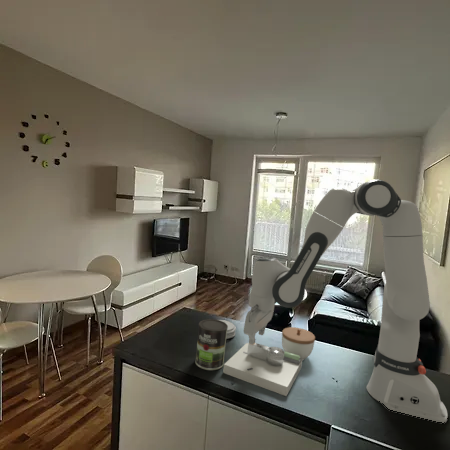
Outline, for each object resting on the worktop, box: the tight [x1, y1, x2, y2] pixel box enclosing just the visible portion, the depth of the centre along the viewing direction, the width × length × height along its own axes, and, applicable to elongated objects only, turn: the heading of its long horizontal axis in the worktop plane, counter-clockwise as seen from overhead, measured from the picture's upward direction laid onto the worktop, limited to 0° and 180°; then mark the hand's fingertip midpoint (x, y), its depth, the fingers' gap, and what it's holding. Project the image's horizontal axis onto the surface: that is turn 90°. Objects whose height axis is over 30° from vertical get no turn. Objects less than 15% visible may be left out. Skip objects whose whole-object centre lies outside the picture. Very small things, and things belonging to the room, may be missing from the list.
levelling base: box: [222, 342, 303, 397], centre depth 111 cm, size 22×20×5 cm
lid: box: [218, 319, 237, 340], centre depth 138 cm, size 13×13×5 cm
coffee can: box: [194, 318, 228, 371], centre depth 112 cm, size 10×10×14 cm
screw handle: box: [247, 342, 285, 366], centre depth 113 cm, size 13×6×4 cm, turn 63°
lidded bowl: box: [281, 326, 316, 361], centre depth 124 cm, size 13×13×11 cm
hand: (256, 338), depth 114 cm, fingers open, 8 cm apart
